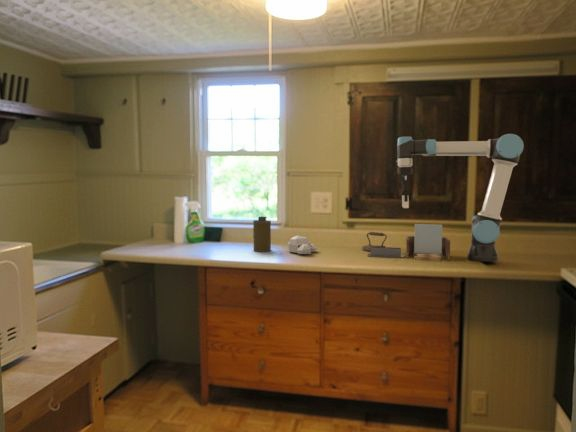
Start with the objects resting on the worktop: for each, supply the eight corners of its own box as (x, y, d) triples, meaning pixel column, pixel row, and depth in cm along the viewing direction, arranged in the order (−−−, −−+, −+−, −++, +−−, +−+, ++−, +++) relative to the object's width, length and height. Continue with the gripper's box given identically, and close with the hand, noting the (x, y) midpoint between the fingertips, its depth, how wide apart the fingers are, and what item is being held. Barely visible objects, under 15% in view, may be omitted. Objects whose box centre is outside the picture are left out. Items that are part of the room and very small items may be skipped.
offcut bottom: (441, 260, 245) (441, 258, 245) (442, 262, 240) (442, 260, 240) (414, 259, 248) (414, 257, 248) (414, 261, 243) (414, 259, 243)
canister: (274, 250, 276) (274, 216, 275) (264, 252, 268) (264, 217, 266) (259, 248, 282) (259, 215, 281) (249, 250, 273) (249, 216, 272)
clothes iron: (386, 249, 274) (387, 232, 268) (386, 258, 266) (387, 241, 260) (362, 247, 277) (363, 230, 271) (361, 256, 268) (362, 239, 263)
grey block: (403, 255, 256) (403, 247, 256) (403, 258, 248) (403, 249, 248) (368, 254, 260) (368, 246, 260) (367, 256, 252) (367, 248, 252)
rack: (446, 255, 258) (447, 237, 258) (449, 259, 244) (450, 240, 243) (405, 253, 263) (406, 236, 263) (406, 257, 249) (407, 239, 248)
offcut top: (440, 256, 245) (440, 254, 245) (441, 257, 240) (441, 255, 240) (416, 255, 247) (416, 253, 247) (417, 257, 243) (417, 254, 243)
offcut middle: (439, 258, 245) (439, 256, 245) (440, 260, 240) (440, 257, 240) (414, 257, 248) (414, 255, 247) (414, 259, 243) (414, 256, 243)
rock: (319, 250, 276) (319, 234, 275) (313, 255, 257) (313, 238, 256) (289, 249, 280) (289, 233, 280) (281, 254, 261) (281, 237, 260)
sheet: (440, 258, 249) (441, 224, 248) (441, 258, 246) (442, 225, 245) (413, 257, 252) (414, 224, 251) (414, 257, 250) (414, 224, 248)
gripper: (396, 167, 255) (397, 206, 256) (398, 166, 230) (398, 208, 232) (410, 167, 253) (411, 206, 255) (414, 165, 229) (414, 208, 230)
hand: (405, 207), depth 243 cm, fingers open, 13 cm apart
